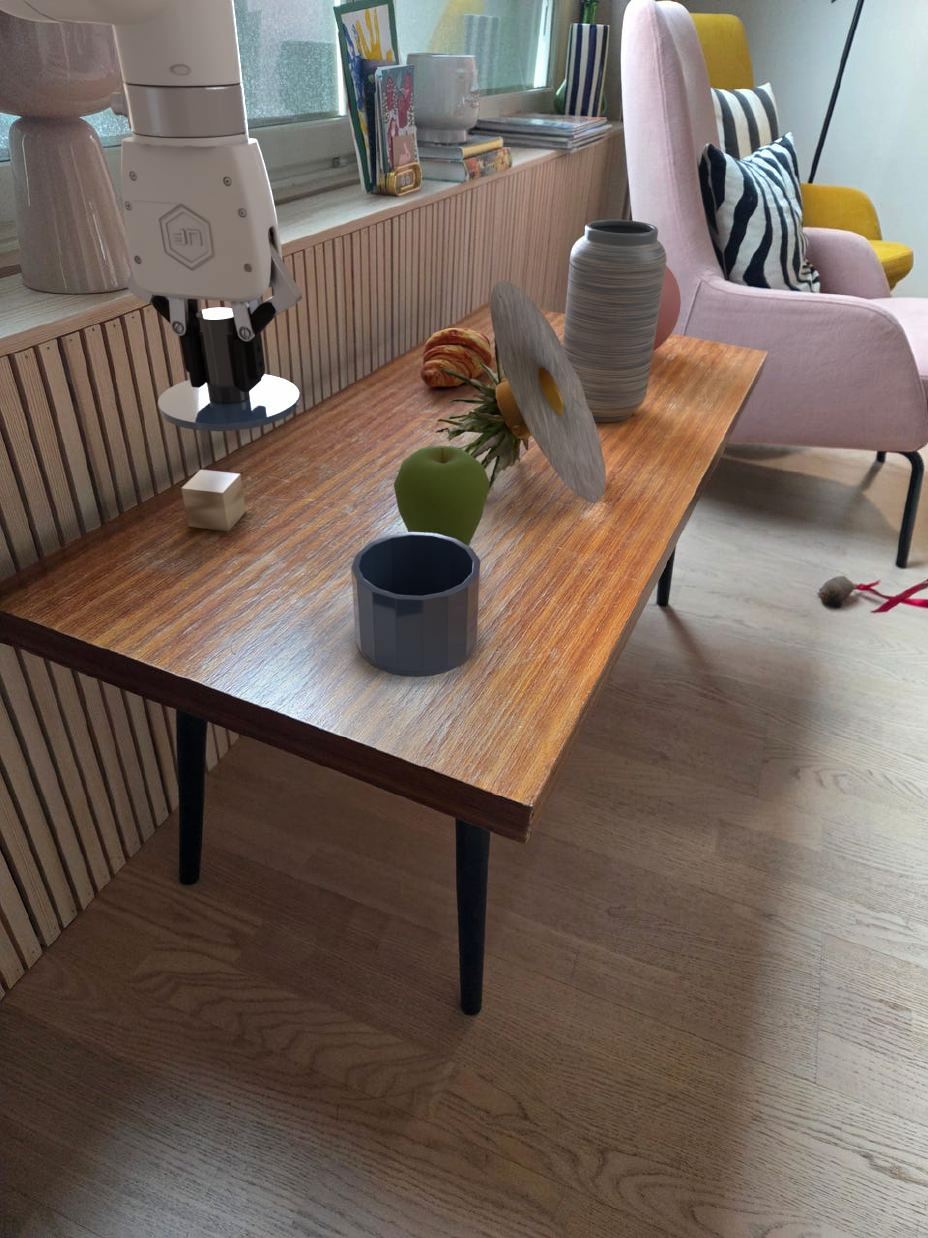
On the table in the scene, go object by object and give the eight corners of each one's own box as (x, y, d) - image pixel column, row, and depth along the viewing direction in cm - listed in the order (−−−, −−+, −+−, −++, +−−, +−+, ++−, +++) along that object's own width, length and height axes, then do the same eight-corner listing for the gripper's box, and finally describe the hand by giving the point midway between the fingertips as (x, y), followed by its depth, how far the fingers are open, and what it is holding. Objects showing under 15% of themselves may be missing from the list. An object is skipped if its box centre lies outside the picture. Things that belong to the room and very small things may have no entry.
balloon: (566, 379, 125) (577, 268, 116) (575, 337, 141) (585, 237, 132) (673, 388, 123) (692, 276, 114) (670, 344, 139) (686, 243, 130)
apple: (380, 563, 82) (375, 453, 76) (427, 527, 88) (426, 421, 82) (457, 590, 79) (459, 477, 72) (501, 550, 85) (506, 442, 78)
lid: (164, 446, 63) (143, 342, 59) (157, 393, 72) (138, 298, 67) (312, 429, 66) (303, 329, 62) (288, 380, 75) (279, 289, 70)
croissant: (466, 369, 137) (445, 321, 134) (521, 348, 132) (500, 297, 129) (411, 413, 121) (386, 359, 118) (471, 390, 115) (446, 333, 112)
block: (188, 526, 87) (181, 488, 85) (206, 507, 91) (200, 469, 88) (228, 531, 87) (222, 492, 84) (246, 511, 90) (240, 473, 88)
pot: (373, 686, 68) (369, 609, 63) (345, 615, 75) (340, 541, 71) (494, 663, 70) (498, 586, 66) (455, 596, 78) (456, 524, 74)
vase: (545, 397, 119) (559, 218, 105) (622, 391, 121) (645, 215, 108) (575, 430, 110) (595, 238, 96) (658, 423, 112) (688, 235, 99)
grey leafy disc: (535, 478, 114) (410, 332, 104) (647, 410, 104) (520, 241, 94) (496, 598, 96) (341, 436, 86) (627, 531, 86) (468, 338, 76)
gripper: (43, 115, 55) (107, 391, 66) (285, 127, 53) (310, 411, 63) (104, 105, 61) (154, 359, 72) (325, 115, 59) (342, 376, 69)
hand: (227, 381), depth 67 cm, fingers closed on lid, 3 cm apart
